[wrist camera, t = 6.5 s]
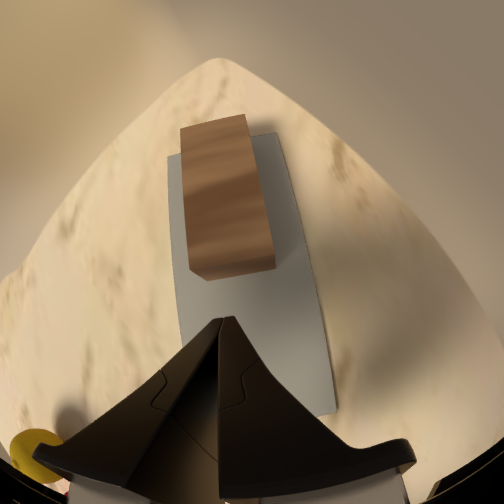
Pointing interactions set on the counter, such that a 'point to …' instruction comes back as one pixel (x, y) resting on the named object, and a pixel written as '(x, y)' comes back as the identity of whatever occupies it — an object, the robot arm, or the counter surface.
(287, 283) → the strip
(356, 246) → the counter surface
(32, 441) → the lemon
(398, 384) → the counter surface
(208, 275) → the walnut block
